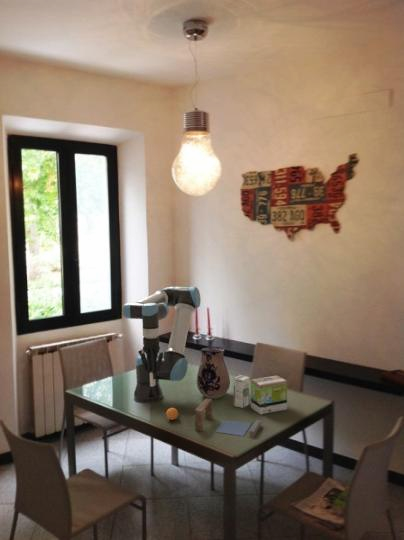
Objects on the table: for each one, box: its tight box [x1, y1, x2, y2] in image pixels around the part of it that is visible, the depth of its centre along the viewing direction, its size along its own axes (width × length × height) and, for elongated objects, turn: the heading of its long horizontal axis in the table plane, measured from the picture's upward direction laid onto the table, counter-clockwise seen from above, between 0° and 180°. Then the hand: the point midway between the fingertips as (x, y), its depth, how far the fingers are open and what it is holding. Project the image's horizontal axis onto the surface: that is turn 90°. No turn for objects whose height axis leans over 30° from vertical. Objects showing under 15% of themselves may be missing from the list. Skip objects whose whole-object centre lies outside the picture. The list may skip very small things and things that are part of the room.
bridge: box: [194, 398, 214, 432], centre depth 223 cm, size 3×14×9 cm, turn 159°
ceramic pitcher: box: [196, 345, 231, 400], centre depth 258 cm, size 18×21×25 cm
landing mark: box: [214, 419, 252, 437], centre depth 218 cm, size 13×13×1 cm
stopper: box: [248, 419, 262, 438], centre depth 214 cm, size 2×12×2 cm, turn 159°
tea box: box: [250, 375, 288, 415], centre depth 238 cm, size 15×10×15 cm
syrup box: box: [233, 374, 250, 409], centre depth 243 cm, size 6×6×14 cm
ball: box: [165, 407, 179, 421], centre depth 229 cm, size 6×6×6 cm
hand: (152, 385), depth 231 cm, fingers closed
